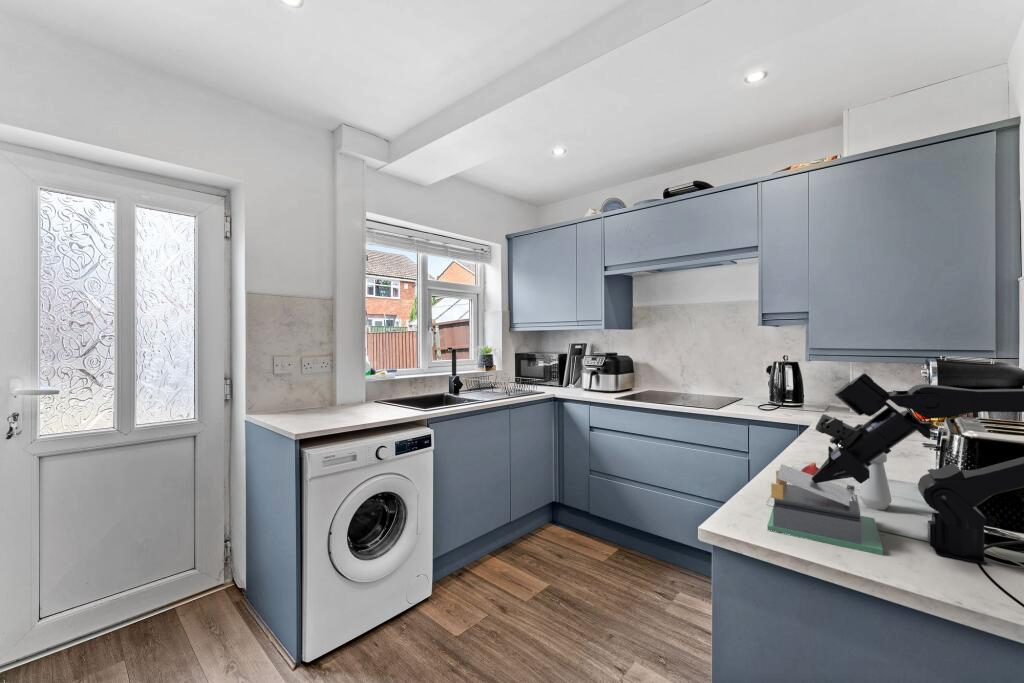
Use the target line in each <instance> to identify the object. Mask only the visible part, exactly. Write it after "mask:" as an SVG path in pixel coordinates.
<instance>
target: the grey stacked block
mask: <svg viewBox="0 0 1024 683" xmlns="http://www.w3.org/2000/svg"><path fill="white" fill-rule="evenodd" d="M778 473H779V470H777V469H776V471H775V479H776V480H775V482H776V483H773V482H772V483H770V484H771V491H770V492H771V495H770V496H771V499H773V502H774V503H773V507H772V509H773V526H775V527H780V528H784V529H789V530H794V531H799V532H804V533H808V534H813V535H818V536H823V537H828V538H832V539H837V540H842V541H847V542H852V543H856V544H861V519H860V516H861V511H860V505H859V501H858V495H857V494H855V497H856V501H850V500H849V502H850V506H847V505H845V504H842V503H839V502H837V501H834V500H832V499H829V498H827V497H824V496H821V495H819V494H816V493H814V492H811V491H808V490H806V489H803V488H801V487H798V486H796V485H793V484H790V483H788V482H785V481H783V480H780V479H777V476H778ZM787 483H788V484H787ZM846 488H848V489H853V490H854V491H855V485H850V484H847V485H846Z"/></svg>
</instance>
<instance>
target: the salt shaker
mask: <svg viewBox="0 0 1024 683" xmlns="http://www.w3.org/2000/svg"><path fill="white" fill-rule="evenodd" d="M886 462H888V456H887V454H886V453H883V454H882V455H880V456H879V457H877V458H876V459H874V460H873V461H871V463H872V465H870V466H869V467H868V468H869V471H870V478H869V479H867V480H866V481H864V482H863V483H861V484H860V487H859V488H860V489H859V493H858V494H859V498H860V499H861V501H862V503H863V505H864V506H865V507H866V508H868V507H869V509H873V510H875V509H877V510H876V511H885V510H887V508H888V507H889V505H890V504H891V503H892V500H893V499H892V496H891V491H890V486H889V482H888V477H887V473H886V470H885V464H884V463H886Z"/></svg>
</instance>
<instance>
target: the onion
mask: <svg viewBox="0 0 1024 683" xmlns="http://www.w3.org/2000/svg"><path fill="white" fill-rule="evenodd" d="M819 468H820V467H818V466H817V463H816V462H810V464H809V465H806V466H804V467H803V468H802V469H801V470H800V471H802V472H805V473H807V474H810V475H813V476H814V474H815V473H816V472H817V471H818V470H819Z"/></svg>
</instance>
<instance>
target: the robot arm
mask: <svg viewBox="0 0 1024 683" xmlns="http://www.w3.org/2000/svg"><path fill="white" fill-rule="evenodd" d="M833 395H834V396H835V397H836V398H837V399H838V400H840V401H841V402H842V403H843V404H844V405H846V406H847V407H848V408H849V409H850V410H852V411H853V412H854V413H855V414H857V415H858V416H863V415H866V416H868V417H872V416H874V417H872V418H871V419H869V420H868V421H866V422H865V423H864V424H863V423H861V424H860V423H858V424H857V425H855V426H851V425H849V424H848V423H845V422H844V421H843V420H842V419H838V418H837V417H836V416H834V417H832V416H829V415H827V414H824V413H823V414H821V416H820V418H819V420H818V421H817V424H816V426H815V431H817V432H819V433H821V434H825V435H828V436H830V437H831V438H830V439H829V443H831V444H835V446H834V447H831V446H830V445H828V447H827V449H828V457H827V458H826V460H825V461H824V462H823V464H821V466H820V467H818V468H819V470H818V471H817V472H816V473H815V474H814V476H813V477H812V481H813V482H814V483H821V482H826V481H829V482H832V481H837V480H843V479H850V478H851V479H852V478H853V479H854V480H855V481H856V482H857V483H858V484H860V485H861V483H863V482H864V481H866V480H867V479H869V478H870V471H869V468H868V467H869V466H870V465H872V463H871V461H873V460H874V459H876V458H877V457H879V456H880V455H882V454H883V453H885V454H886V455H889V453H891V452H892V450H891V449H892V448H893V447H895V446H896V445H898V444H899V443H901V442H902V441H903V440H906V438H909V437H910V436H911V435H912V434H914V433H916V432H918V433H920V434H921V435H922V436H924V437H925V438H926V439H931V438H932V436H931V427H932V423H931V422H929V421H922V420H920V419H919V418H917V417H916V416H915V415H913V414H912V413H911V412H910V411H908V410H909V409H910V410H912V412H914V413H916V414H917V415H919V416H920V417H922V418H923V417H924V418H927V419H940V418H949V417H950V418H952V417H958V416H962V415H968V414H973V413H974V414H976V413H1024V388H1011V389H1009V388H1008V389H1004V388H1003V389H1001V388H999V389H993V388H992V389H971V388H970V389H969V388H961V387H955V386H954V387H953V386H946V385H937V384H935V385H934V384H927V383H926V384H925V383H923V384H922V383H921V384H916V385H913V386H911V387H910V388H909V389H908V390H897V391H895V390H892V391H887V390H885V389H884V388H883V387H881V386H880V385H879V384H878V383H877V382H875V380H873V378H872V377H871V376H870V375H868V374H867V373H862V374H860V375H859V376H858V377H856V378H854V379H852V380H851V381H848V382H847V383H845V384H844V385H843V386H842V387H841V388H839V389H838V390H837V391H836V392H835V393H834V394H833ZM888 401H890V402H892V403H893V404H895V406H897V407H899V408H904V409H908V410H904V411H901V412H900V411H899V410H897V408H895V407H894V406H892V405H891V404H889V402H888ZM884 407H886V408H885V409H883V408H884ZM881 409H883V410H882V411H881ZM879 411H881V412H880V413H878V412H879ZM876 413H878V414H876ZM875 414H876V415H875ZM927 472H928V473H927V474H924V475H922V476H921V477H920V478H919V480H918V483H917V489H918V491H919V493H920V495H921V497H922V498H923V499H924V502H925V503H926V504H927V505H928V506H929V507H930V508H931V509H932V510H934V511H935V512H931V519H928V520H927V542H928V544H929V546H930V547H931V548H932V549H933V551H934V553H935V554H936V555H938V556H942V557H948V558H953V559H958V560H962V561H967V562H972V563H978V564H981V563H982V565H988V562H989V561H988V560H987V558H986V557H985V526H986V523H987V522H988V520H987V518H986V517H985V516H984V514H983V513H982V512H981V511H980V510H979V509H978V508H977V507H978V506H979V505H980V504H982V503H983V502H985V501H986V500H988V499H989V498H991V497H992V496H995V495H998V494H1002V493H1006V492H1009V491H1014V490H1017V489H1022V488H1023V489H1024V456H1022V457H1018V458H1015V459H1011V460H1007V461H1004V462H999V463H996V464H992V465H988V466H985V467H981V468H977V469H968V470H967V469H964V470H963V469H962V470H961V468H959V467H958V466H957V465H956V464H955V463H950V464H946V465H945V466H943V467H940V468H935V469H927Z"/></svg>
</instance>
